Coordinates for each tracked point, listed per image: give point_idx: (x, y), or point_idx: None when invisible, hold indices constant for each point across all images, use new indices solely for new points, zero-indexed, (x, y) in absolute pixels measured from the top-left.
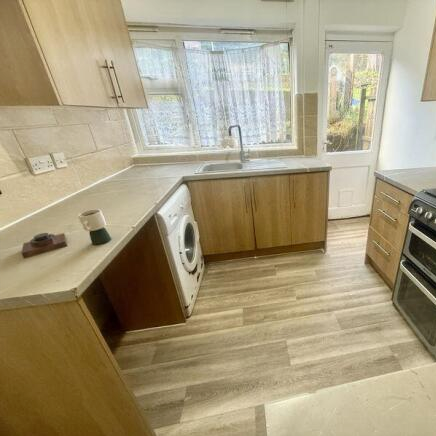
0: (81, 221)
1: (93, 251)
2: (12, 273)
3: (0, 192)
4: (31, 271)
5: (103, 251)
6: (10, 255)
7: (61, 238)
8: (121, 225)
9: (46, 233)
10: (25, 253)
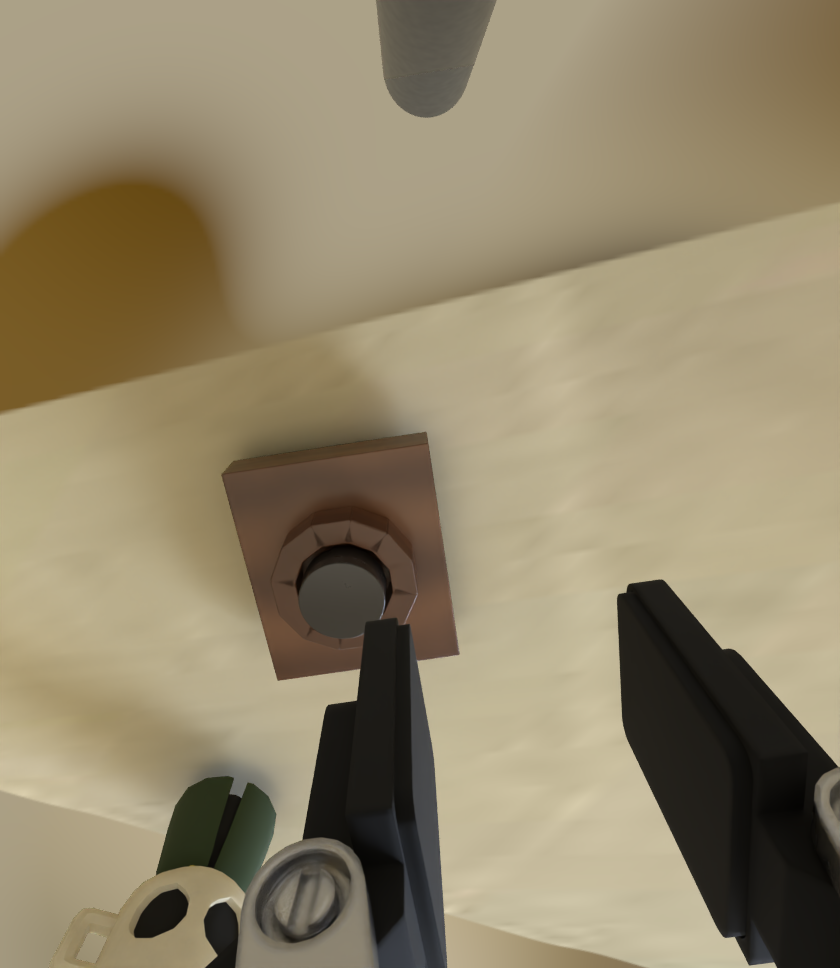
0: (109, 956)
1: (163, 759)
2: (76, 427)
3: (636, 758)
4: (51, 518)
5: (134, 799)
6: (400, 340)
7: (354, 654)
8: (498, 861)
9: (356, 630)
10: (227, 488)
